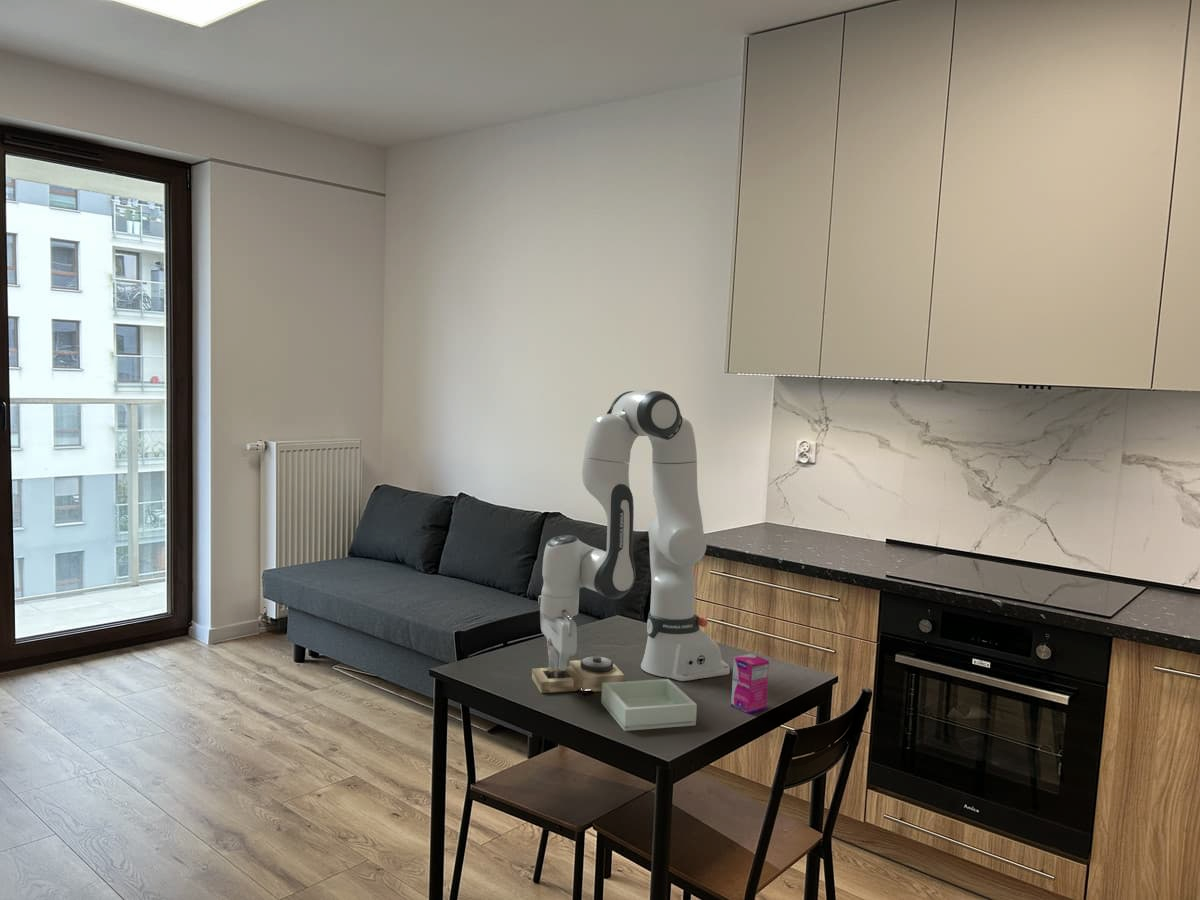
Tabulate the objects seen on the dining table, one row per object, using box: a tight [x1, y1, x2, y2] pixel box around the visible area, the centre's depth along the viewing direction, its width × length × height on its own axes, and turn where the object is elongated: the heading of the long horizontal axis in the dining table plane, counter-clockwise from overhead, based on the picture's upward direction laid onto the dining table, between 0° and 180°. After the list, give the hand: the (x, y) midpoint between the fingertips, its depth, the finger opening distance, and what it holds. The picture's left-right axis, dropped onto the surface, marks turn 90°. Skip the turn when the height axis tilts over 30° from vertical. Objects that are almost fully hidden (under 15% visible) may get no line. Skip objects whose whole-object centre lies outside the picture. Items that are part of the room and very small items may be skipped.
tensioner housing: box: [531, 656, 626, 694], centre depth 207 cm, size 20×12×6 cm, turn 107°
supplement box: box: [730, 653, 770, 715], centre depth 196 cm, size 6×6×12 cm
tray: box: [600, 678, 698, 732], centre depth 190 cm, size 16×16×4 cm
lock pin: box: [547, 638, 565, 679], centre depth 205 cm, size 4×4×11 cm
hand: (557, 663), depth 205 cm, fingers open, 8 cm apart
